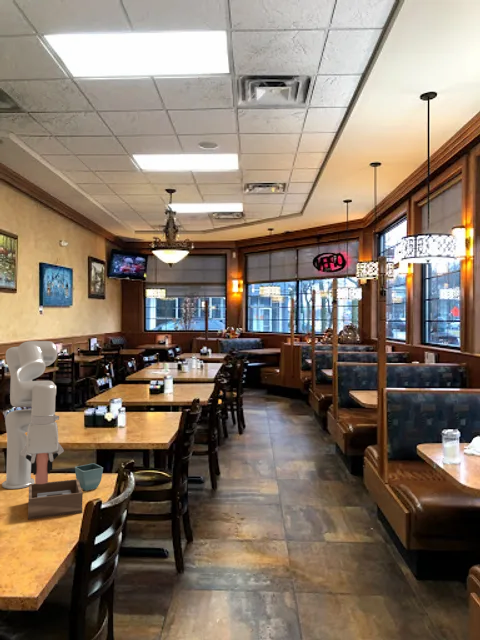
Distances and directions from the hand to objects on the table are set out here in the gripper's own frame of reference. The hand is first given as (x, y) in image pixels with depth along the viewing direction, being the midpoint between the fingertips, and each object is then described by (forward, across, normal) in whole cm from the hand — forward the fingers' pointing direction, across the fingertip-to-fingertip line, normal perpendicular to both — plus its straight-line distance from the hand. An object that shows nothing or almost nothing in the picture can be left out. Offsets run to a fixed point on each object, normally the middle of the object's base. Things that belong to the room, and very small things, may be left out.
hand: (41, 472), depth 168 cm
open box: (+17, -5, -13) cm, 22 cm away
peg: (+3, 0, 0) cm, 3 cm away
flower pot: (+18, -19, -31) cm, 41 cm away
